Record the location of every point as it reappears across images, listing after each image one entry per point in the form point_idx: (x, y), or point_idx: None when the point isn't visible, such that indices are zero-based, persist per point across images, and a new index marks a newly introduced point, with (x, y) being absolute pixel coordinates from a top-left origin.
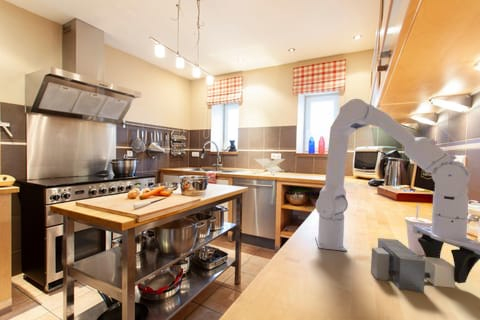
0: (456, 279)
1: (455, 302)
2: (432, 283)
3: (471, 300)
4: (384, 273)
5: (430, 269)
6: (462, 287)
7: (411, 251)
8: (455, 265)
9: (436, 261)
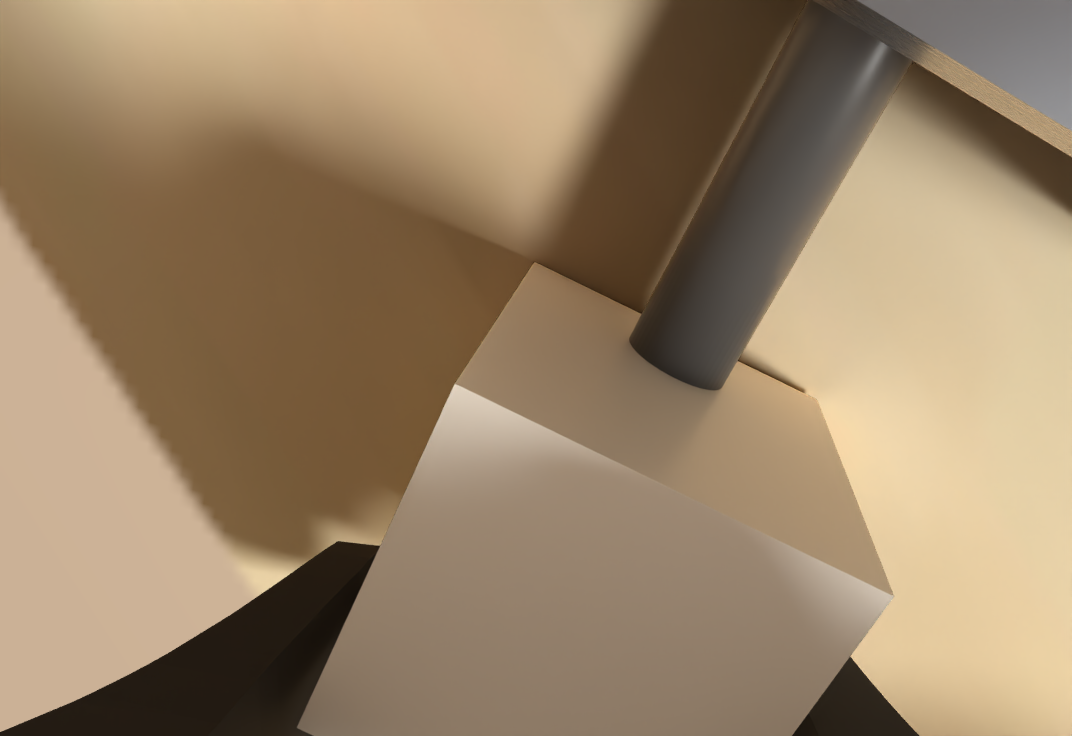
0: (333, 556)
1: (136, 85)
2: (567, 281)
3: (151, 375)
4: None
5: (615, 384)
6: None
7: (1010, 18)
8: (217, 692)
9: (597, 632)
